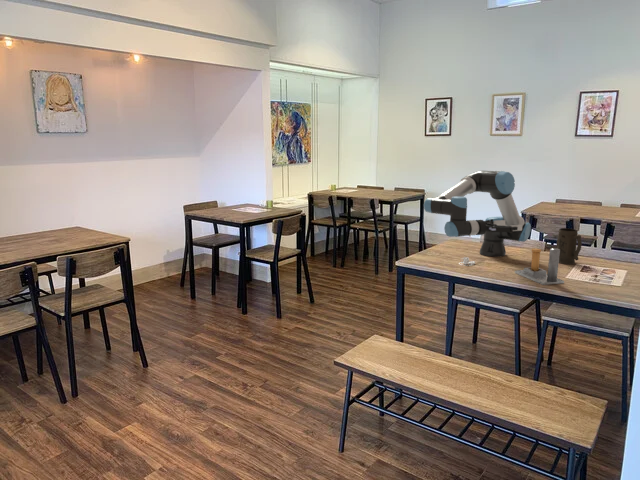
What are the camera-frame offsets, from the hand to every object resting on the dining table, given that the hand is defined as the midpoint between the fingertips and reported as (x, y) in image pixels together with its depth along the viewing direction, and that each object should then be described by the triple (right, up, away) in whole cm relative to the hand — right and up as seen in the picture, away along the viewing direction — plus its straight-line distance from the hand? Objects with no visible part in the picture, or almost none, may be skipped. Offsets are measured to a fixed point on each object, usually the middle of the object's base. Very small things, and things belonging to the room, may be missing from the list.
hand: (513, 225), depth 236 cm
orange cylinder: (+13, -25, +6) cm, 29 cm away
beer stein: (+45, -21, +32) cm, 59 cm away
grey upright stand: (+14, -27, +3) cm, 31 cm away
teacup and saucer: (-13, -22, +27) cm, 38 cm away
